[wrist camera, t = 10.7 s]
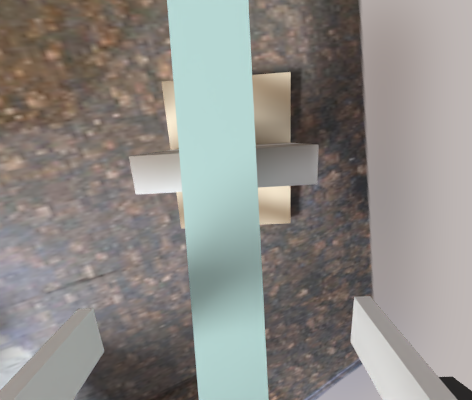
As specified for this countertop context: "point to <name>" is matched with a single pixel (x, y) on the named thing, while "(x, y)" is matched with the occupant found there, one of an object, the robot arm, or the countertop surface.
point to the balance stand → (267, 152)
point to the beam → (220, 194)
